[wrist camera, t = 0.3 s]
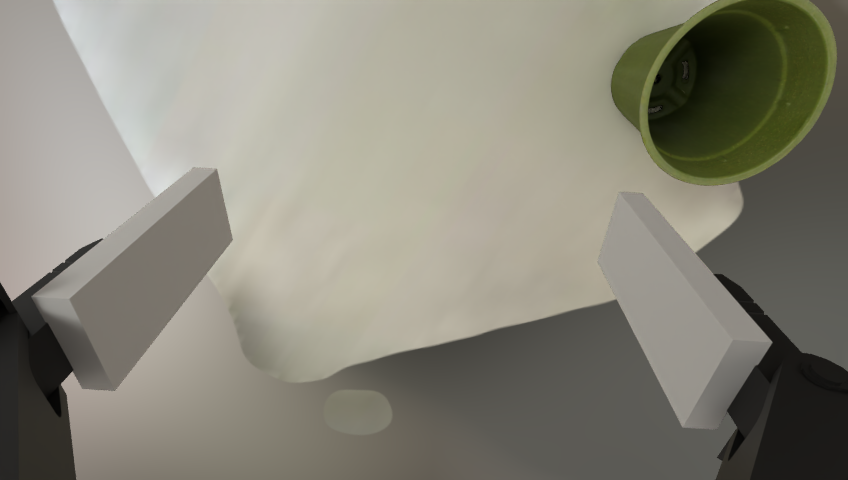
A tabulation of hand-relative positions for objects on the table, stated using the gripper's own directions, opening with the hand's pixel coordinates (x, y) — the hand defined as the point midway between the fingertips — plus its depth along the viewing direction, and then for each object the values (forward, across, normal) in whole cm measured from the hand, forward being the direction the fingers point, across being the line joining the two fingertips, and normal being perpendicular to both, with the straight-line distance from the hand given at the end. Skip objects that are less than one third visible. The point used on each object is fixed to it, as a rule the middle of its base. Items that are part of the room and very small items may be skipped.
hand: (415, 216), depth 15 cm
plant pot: (+27, +19, 0) cm, 33 cm away
